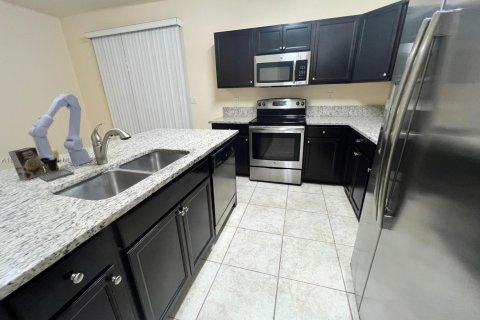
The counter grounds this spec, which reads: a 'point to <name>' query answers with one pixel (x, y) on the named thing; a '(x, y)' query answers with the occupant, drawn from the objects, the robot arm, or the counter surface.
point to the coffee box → (27, 163)
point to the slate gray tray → (56, 175)
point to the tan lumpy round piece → (53, 153)
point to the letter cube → (49, 168)
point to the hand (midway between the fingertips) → (52, 169)
